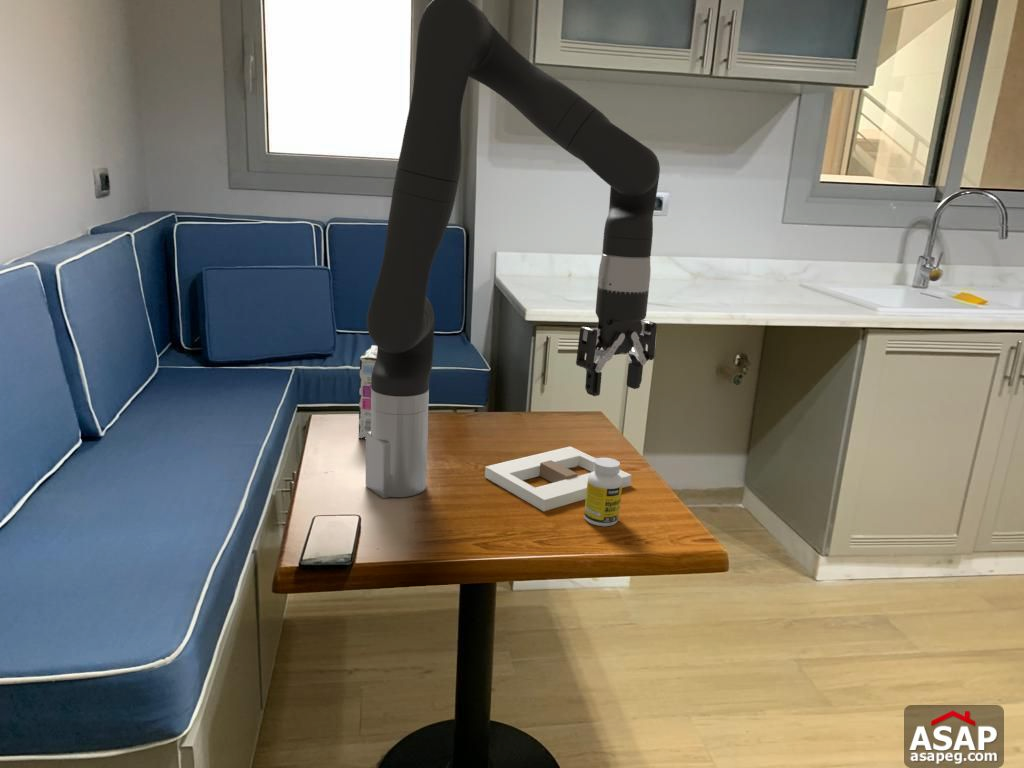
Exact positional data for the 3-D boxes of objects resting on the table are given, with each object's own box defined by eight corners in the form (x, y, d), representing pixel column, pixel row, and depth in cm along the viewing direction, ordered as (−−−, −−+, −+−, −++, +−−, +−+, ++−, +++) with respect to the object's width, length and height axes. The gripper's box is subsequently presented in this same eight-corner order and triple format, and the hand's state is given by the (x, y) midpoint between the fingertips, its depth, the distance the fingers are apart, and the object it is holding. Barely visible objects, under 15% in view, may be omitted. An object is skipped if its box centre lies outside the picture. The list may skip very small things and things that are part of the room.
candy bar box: (383, 441, 150) (384, 359, 145) (357, 439, 150) (358, 357, 146) (393, 422, 161) (395, 345, 156) (369, 421, 161) (370, 344, 156)
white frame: (543, 511, 124) (544, 497, 123) (484, 477, 136) (485, 463, 135) (630, 485, 136) (631, 472, 135) (569, 456, 148) (570, 443, 147)
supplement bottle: (605, 530, 119) (610, 471, 116) (577, 518, 122) (582, 461, 120) (625, 520, 123) (631, 462, 120) (597, 509, 126) (602, 452, 123)
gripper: (606, 292, 107) (596, 404, 112) (675, 287, 116) (663, 391, 120) (570, 284, 113) (562, 391, 117) (638, 279, 121) (628, 379, 126)
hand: (613, 391), depth 119 cm, fingers open, 8 cm apart
